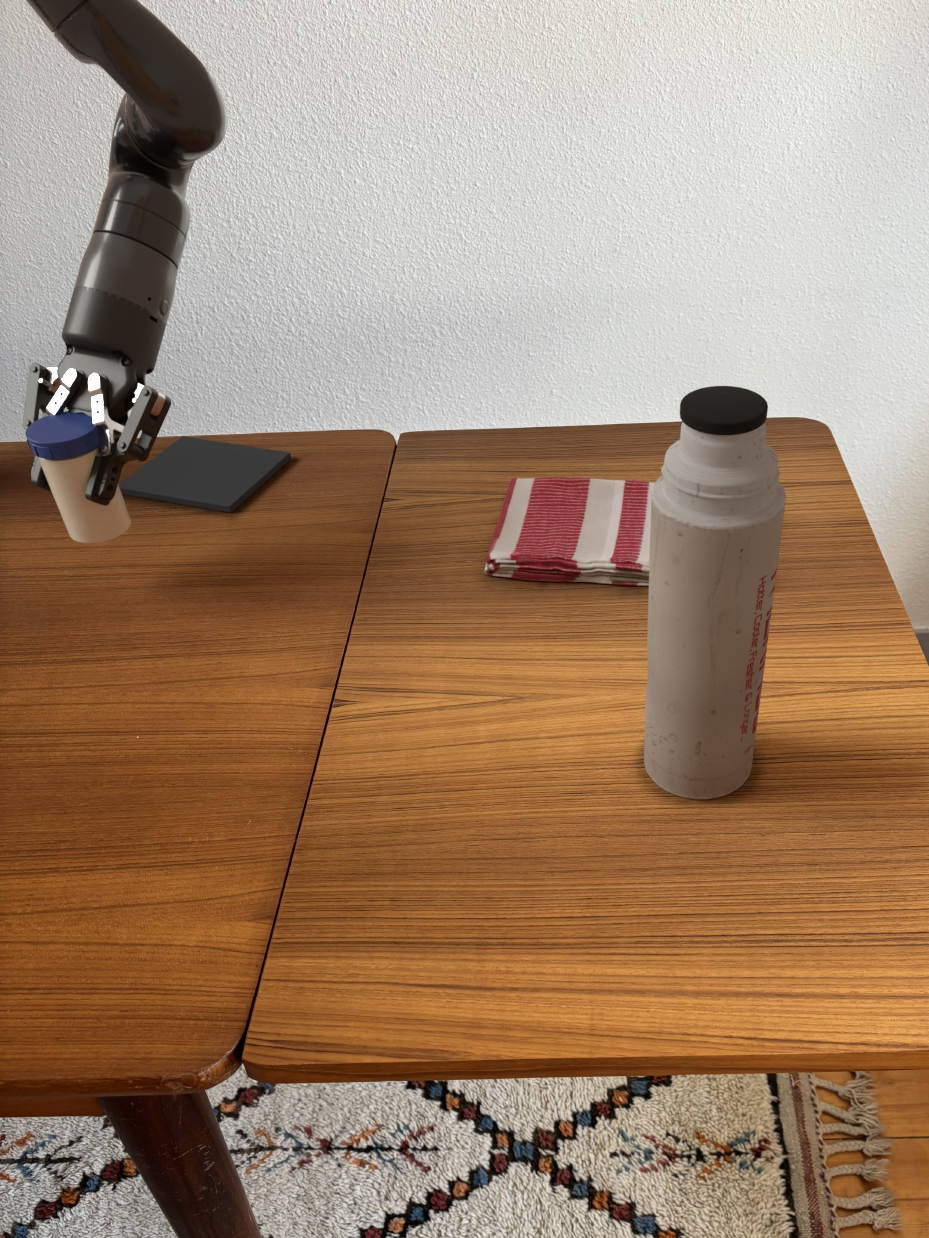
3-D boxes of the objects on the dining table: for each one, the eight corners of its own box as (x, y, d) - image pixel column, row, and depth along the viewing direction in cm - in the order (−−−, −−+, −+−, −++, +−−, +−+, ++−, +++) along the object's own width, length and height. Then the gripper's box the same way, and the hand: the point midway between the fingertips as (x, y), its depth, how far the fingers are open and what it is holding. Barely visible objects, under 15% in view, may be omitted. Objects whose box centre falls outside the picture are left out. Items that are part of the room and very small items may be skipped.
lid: (16, 454, 87) (9, 437, 86) (62, 423, 91) (56, 406, 90) (74, 464, 86) (67, 447, 85) (118, 432, 90) (112, 415, 89)
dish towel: (740, 592, 93) (743, 567, 91) (482, 581, 96) (480, 556, 94) (741, 496, 105) (743, 472, 104) (512, 488, 108) (510, 465, 106)
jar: (56, 538, 93) (15, 442, 87) (94, 507, 97) (59, 413, 90) (106, 548, 91) (69, 451, 85) (143, 516, 95) (111, 422, 89)
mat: (117, 493, 110) (115, 487, 110) (184, 442, 118) (182, 435, 118) (231, 513, 106) (229, 506, 106) (292, 459, 115) (290, 452, 114)
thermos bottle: (768, 746, 79) (818, 386, 59) (726, 814, 74) (766, 445, 54) (671, 713, 82) (690, 361, 62) (625, 777, 77) (629, 415, 58)
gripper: (24, 272, 88) (-29, 466, 89) (157, 295, 84) (101, 499, 84) (89, 313, 95) (41, 492, 96) (216, 336, 91) (164, 524, 91)
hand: (69, 495), depth 90 cm, fingers closed on jar, 5 cm apart
